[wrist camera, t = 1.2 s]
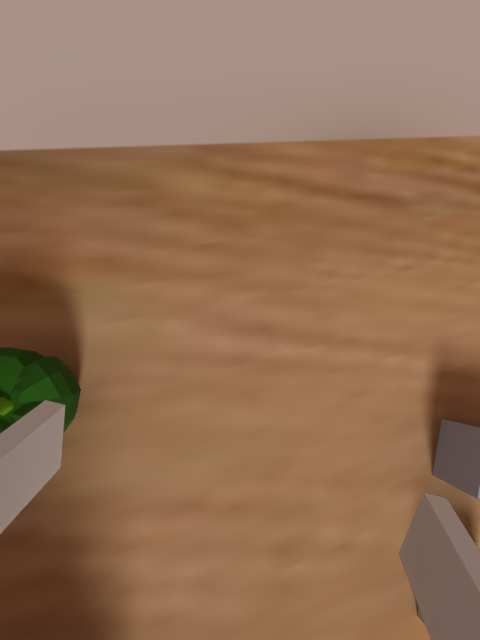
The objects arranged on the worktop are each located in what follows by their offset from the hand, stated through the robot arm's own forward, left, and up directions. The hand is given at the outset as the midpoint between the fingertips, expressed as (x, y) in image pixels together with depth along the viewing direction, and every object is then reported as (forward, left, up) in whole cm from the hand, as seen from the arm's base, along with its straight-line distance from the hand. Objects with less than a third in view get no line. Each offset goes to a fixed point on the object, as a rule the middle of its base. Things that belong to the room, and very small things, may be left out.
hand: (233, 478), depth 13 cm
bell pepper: (-3, +14, -22) cm, 27 cm away
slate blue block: (0, -29, -22) cm, 36 cm away
